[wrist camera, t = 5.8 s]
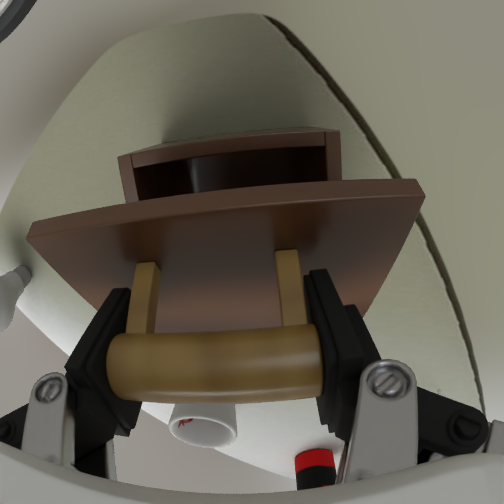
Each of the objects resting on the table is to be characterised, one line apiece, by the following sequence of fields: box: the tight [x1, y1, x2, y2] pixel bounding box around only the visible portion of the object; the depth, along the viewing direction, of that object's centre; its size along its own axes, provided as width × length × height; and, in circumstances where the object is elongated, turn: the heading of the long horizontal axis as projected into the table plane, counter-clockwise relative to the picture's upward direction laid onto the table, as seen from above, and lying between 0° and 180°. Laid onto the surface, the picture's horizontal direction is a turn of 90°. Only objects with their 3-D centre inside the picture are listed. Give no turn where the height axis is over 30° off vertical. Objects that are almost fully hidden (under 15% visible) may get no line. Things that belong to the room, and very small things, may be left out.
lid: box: [26, 179, 425, 404], centre depth 13 cm, size 17×13×5 cm
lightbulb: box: [0, 266, 31, 332], centre depth 24 cm, size 6×6×11 cm
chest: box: [117, 127, 342, 203], centre depth 22 cm, size 16×13×9 cm
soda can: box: [295, 449, 337, 490], centre depth 41 cm, size 8×8×12 cm
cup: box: [169, 404, 237, 448], centre depth 33 cm, size 11×8×8 cm
